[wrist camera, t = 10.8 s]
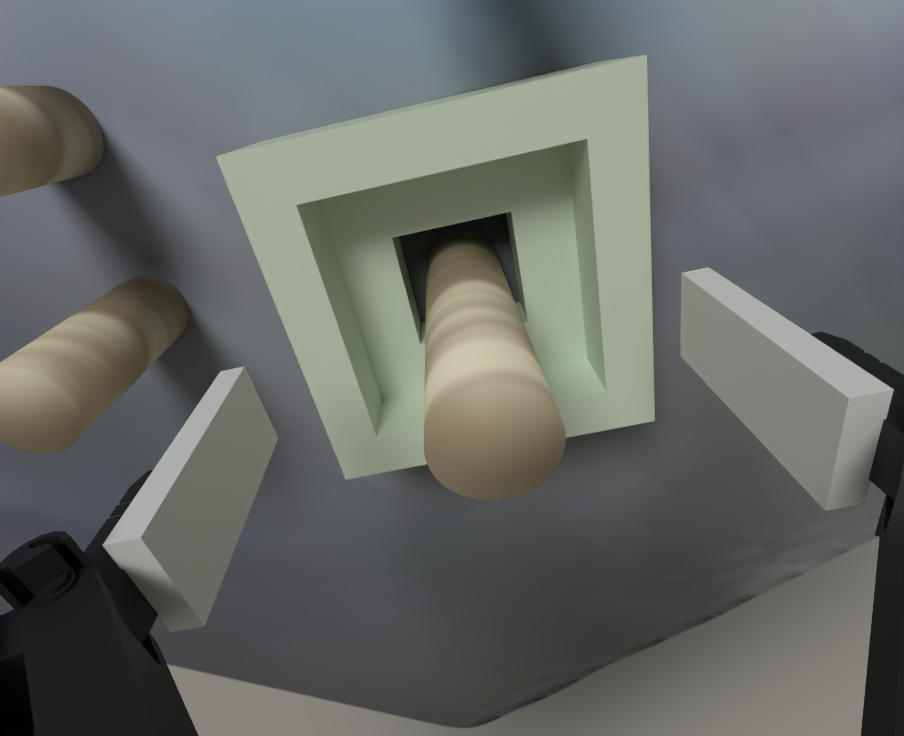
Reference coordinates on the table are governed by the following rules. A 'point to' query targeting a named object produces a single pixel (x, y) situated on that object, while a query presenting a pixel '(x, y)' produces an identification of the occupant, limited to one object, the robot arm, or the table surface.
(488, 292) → the long birch dowel
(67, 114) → the short birch dowel
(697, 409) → the table surface
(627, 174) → the sage socket block
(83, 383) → the medium birch dowel
